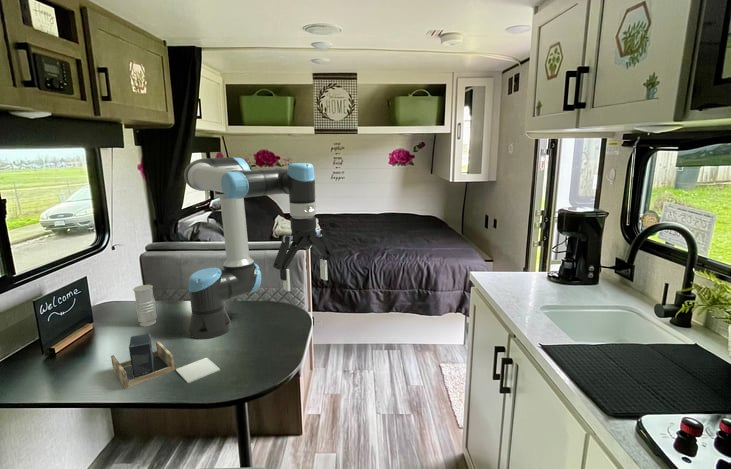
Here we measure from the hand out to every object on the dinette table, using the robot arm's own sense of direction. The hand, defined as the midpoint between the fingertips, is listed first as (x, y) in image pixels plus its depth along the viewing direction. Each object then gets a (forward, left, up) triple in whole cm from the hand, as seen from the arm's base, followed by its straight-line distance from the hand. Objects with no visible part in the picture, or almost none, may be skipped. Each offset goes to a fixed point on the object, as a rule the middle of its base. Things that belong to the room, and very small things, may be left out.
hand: (306, 284), depth 122 cm
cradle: (-35, -39, -27) cm, 59 cm away
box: (-35, -39, -28) cm, 59 cm away
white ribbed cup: (-72, -27, -28) cm, 81 cm away
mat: (-23, -27, -27) cm, 45 cm away
